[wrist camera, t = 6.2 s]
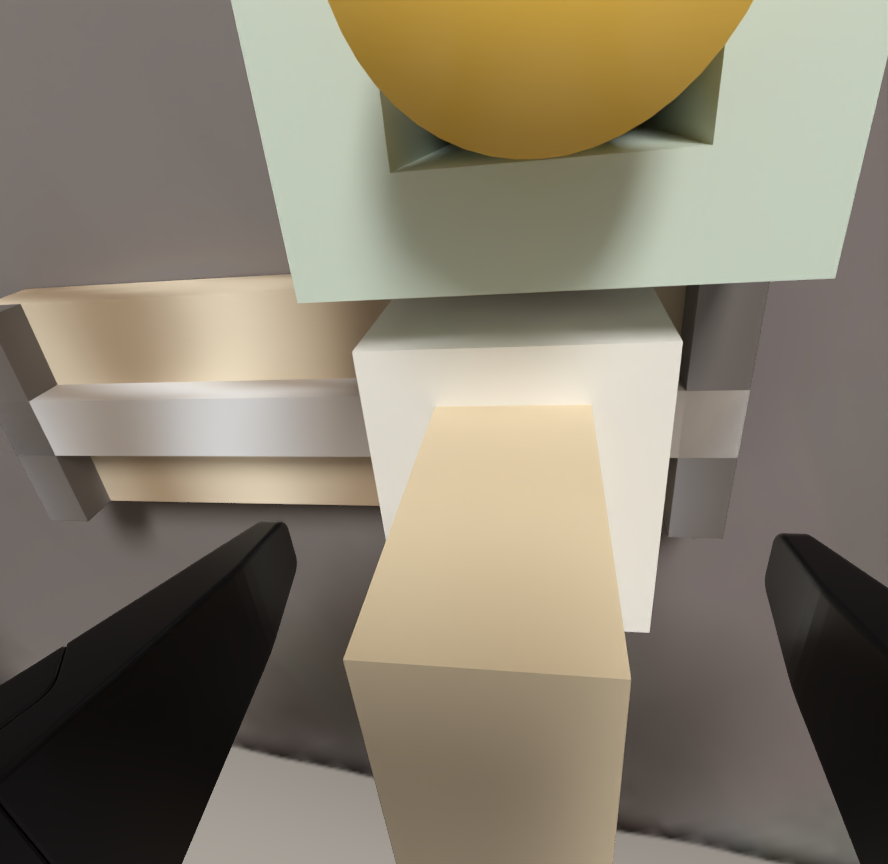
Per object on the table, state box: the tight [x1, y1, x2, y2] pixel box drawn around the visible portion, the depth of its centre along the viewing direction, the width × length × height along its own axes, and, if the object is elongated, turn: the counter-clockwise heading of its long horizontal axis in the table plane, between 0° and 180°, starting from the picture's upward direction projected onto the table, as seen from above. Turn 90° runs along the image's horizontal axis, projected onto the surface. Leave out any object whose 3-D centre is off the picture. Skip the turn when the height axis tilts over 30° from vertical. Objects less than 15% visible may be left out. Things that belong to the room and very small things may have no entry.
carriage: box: [343, 287, 683, 864], centre depth 9 cm, size 5×6×8 cm
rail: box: [0, 274, 770, 539], centre depth 15 cm, size 18×6×2 cm, turn 95°
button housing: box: [231, 0, 888, 303], centre depth 9 cm, size 7×7×6 cm
